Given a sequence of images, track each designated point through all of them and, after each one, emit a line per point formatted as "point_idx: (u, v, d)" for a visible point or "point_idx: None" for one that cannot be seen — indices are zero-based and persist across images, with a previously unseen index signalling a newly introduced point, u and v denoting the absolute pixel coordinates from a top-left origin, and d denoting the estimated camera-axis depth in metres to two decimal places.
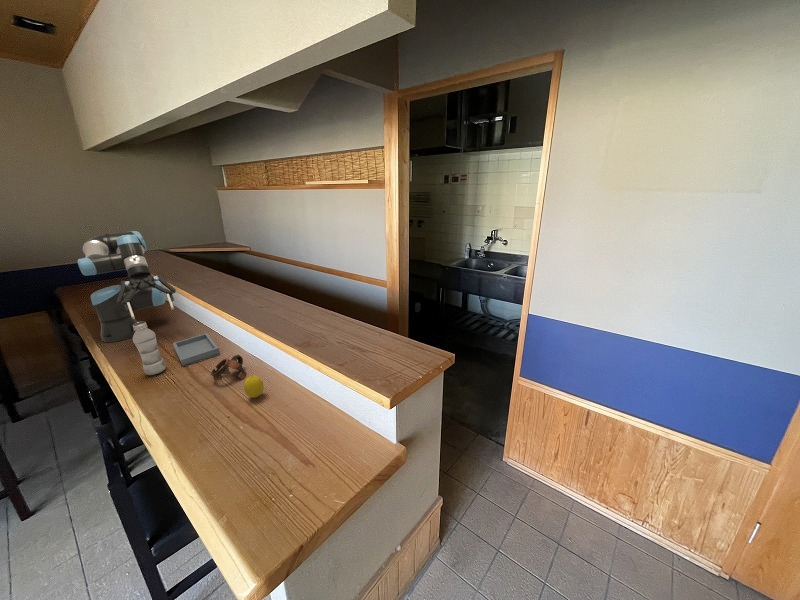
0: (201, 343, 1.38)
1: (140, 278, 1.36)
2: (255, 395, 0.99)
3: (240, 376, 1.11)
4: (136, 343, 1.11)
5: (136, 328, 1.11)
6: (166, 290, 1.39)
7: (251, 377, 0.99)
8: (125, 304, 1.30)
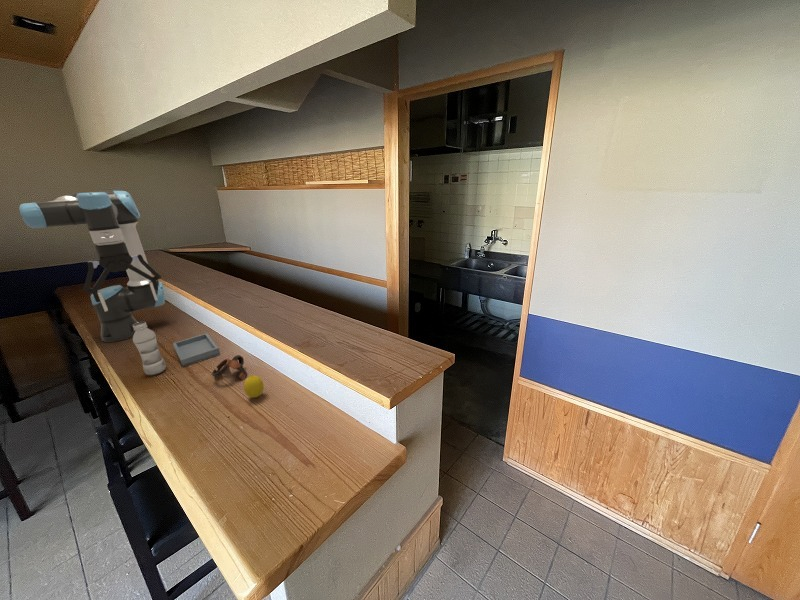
0: (201, 343, 1.38)
1: (114, 259, 1.03)
2: (255, 395, 0.99)
3: (241, 376, 1.11)
4: (136, 343, 1.11)
5: (136, 328, 1.11)
6: (149, 277, 1.10)
7: (251, 377, 0.99)
8: (95, 294, 1.02)
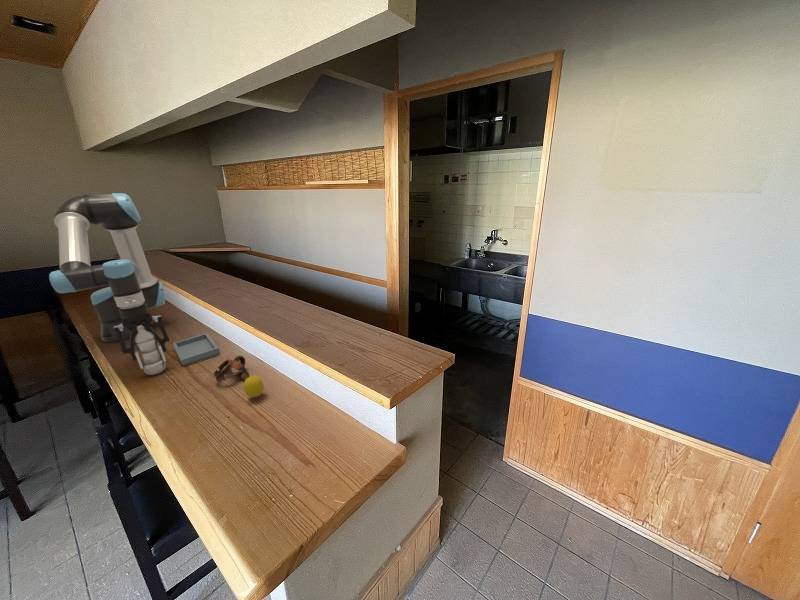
0: (201, 343, 1.38)
1: (136, 320, 1.10)
2: (255, 395, 0.99)
3: (243, 377, 1.10)
4: (136, 343, 1.11)
5: (136, 328, 1.11)
6: (159, 340, 1.16)
7: (251, 377, 0.99)
8: (132, 354, 1.12)
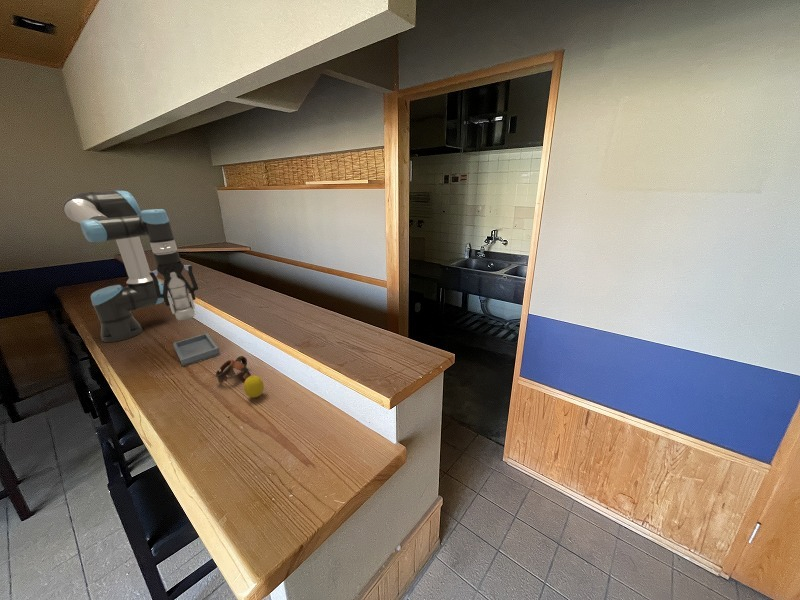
0: (201, 343, 1.38)
1: (169, 267, 1.19)
2: (255, 395, 0.99)
3: (245, 377, 1.10)
4: (169, 289, 1.20)
5: (170, 274, 1.19)
6: (189, 288, 1.25)
7: (251, 377, 0.99)
8: (166, 299, 1.21)
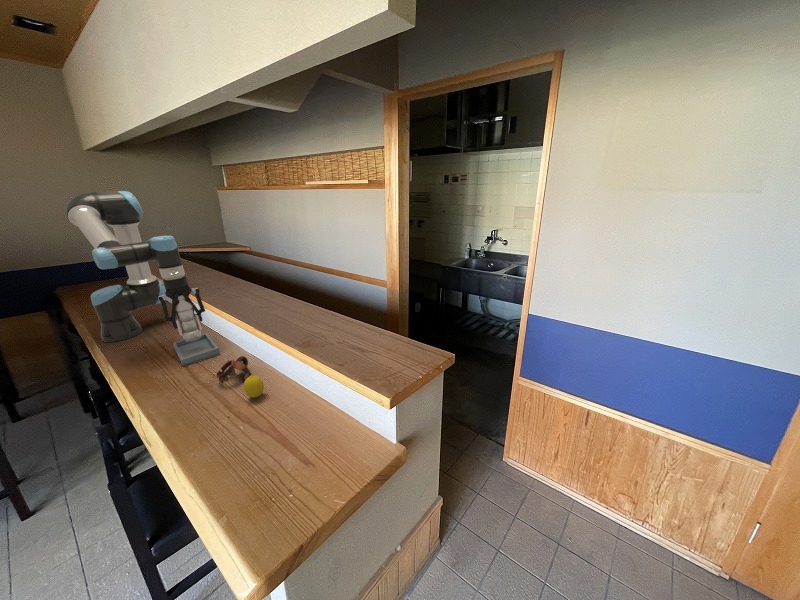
0: (201, 343, 1.38)
1: (177, 291, 1.22)
2: (255, 395, 0.99)
3: (246, 377, 1.10)
4: (177, 312, 1.23)
5: (178, 298, 1.23)
6: (196, 310, 1.28)
7: (251, 377, 0.99)
8: (174, 322, 1.24)
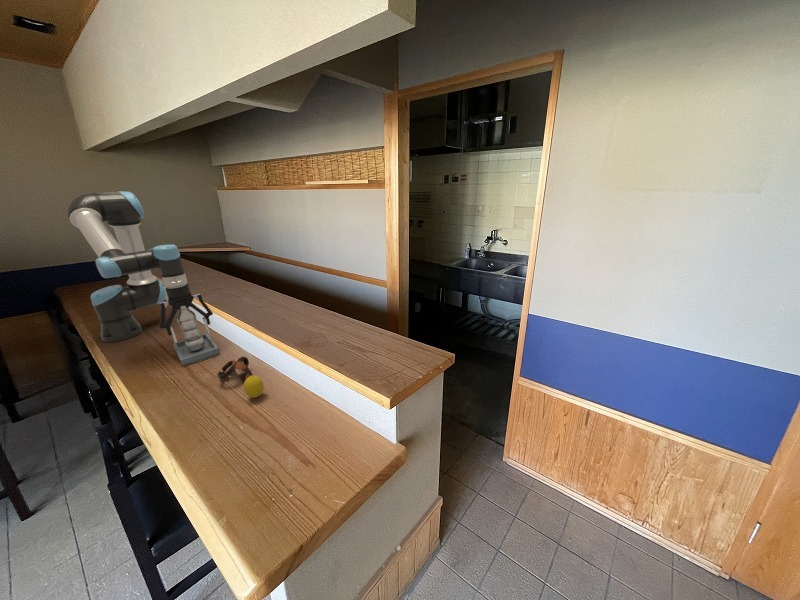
0: None
1: (180, 299, 1.24)
2: (255, 395, 0.99)
3: (247, 377, 1.10)
4: (180, 322, 1.25)
5: (180, 308, 1.24)
6: (204, 314, 1.30)
7: (251, 377, 0.99)
8: (168, 329, 1.24)
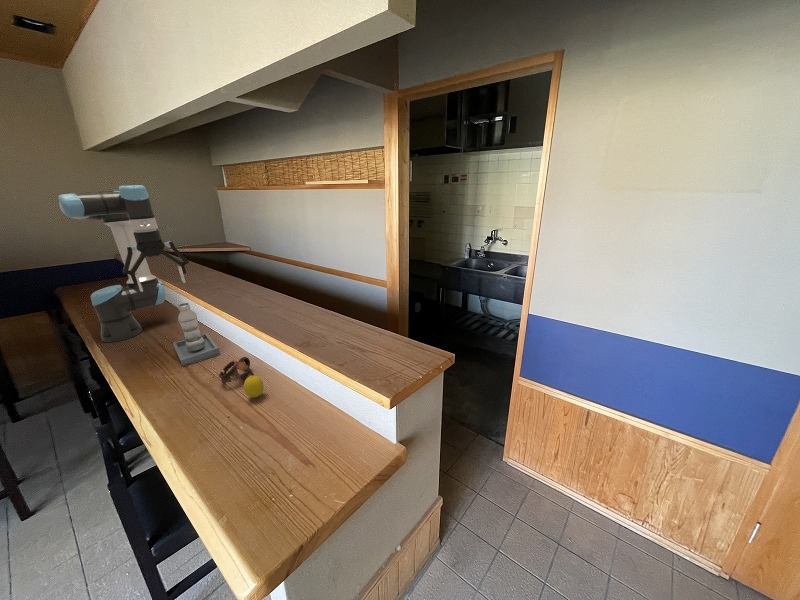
0: None
1: (149, 245, 1.16)
2: (255, 395, 0.99)
3: None
4: (181, 322, 1.25)
5: (181, 308, 1.24)
6: (178, 262, 1.23)
7: (251, 377, 0.99)
8: (133, 276, 1.15)
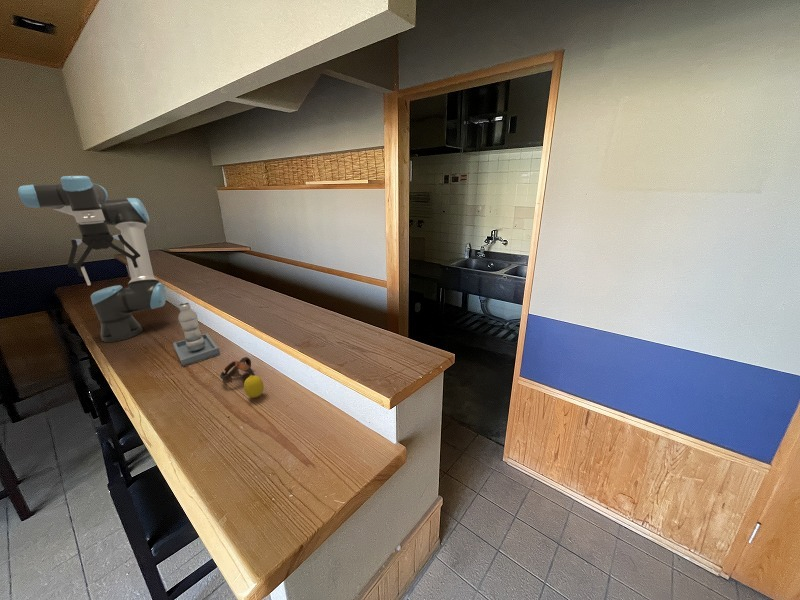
0: None
1: (96, 238, 1.13)
2: (255, 395, 0.99)
3: None
4: (181, 321, 1.25)
5: (182, 308, 1.25)
6: (129, 255, 1.20)
7: (251, 377, 0.99)
8: (78, 269, 1.13)
